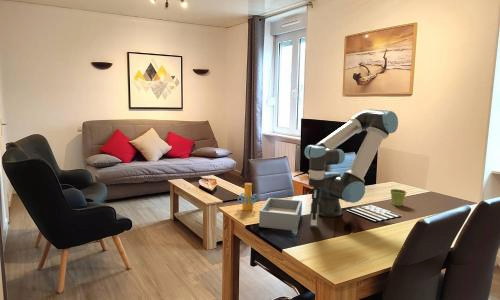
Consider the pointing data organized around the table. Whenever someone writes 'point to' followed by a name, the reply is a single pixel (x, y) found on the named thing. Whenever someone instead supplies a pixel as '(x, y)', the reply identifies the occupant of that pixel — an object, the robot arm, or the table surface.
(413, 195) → the table surface
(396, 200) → the plant pot
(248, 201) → the yellow and blue post
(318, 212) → the peg
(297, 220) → the box
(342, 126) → the robot arm
